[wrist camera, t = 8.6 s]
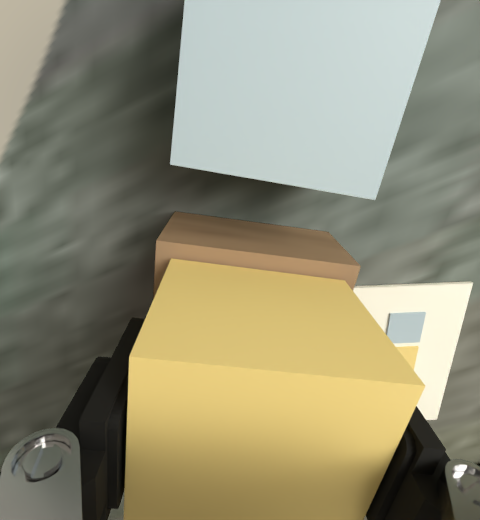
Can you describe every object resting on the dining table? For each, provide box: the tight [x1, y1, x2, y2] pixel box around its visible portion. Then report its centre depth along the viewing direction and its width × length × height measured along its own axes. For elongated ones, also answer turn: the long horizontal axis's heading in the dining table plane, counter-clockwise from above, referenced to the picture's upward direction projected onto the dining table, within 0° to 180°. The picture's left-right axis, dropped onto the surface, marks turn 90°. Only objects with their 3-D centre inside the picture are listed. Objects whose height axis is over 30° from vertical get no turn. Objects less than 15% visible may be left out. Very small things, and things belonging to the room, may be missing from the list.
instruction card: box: [353, 282, 473, 420], centre depth 18 cm, size 9×6×1 cm, turn 2°
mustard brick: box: [124, 258, 425, 520], centre depth 10 cm, size 6×6×5 cm
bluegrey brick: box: [170, 0, 441, 200], centre depth 11 cm, size 6×6×5 cm
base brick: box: [153, 212, 361, 300], centre depth 14 cm, size 7×7×4 cm
